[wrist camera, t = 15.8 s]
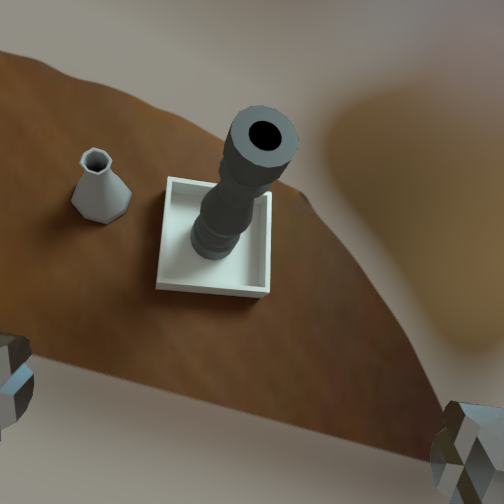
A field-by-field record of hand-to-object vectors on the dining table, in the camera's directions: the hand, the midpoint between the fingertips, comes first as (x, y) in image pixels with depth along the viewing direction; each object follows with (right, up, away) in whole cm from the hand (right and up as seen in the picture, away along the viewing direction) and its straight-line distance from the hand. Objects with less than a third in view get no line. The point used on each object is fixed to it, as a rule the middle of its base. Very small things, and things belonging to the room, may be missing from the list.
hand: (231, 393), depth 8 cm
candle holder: (-5, +5, +48) cm, 49 cm away
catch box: (-5, +4, +49) cm, 49 cm away
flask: (-19, +10, +47) cm, 51 cm away
